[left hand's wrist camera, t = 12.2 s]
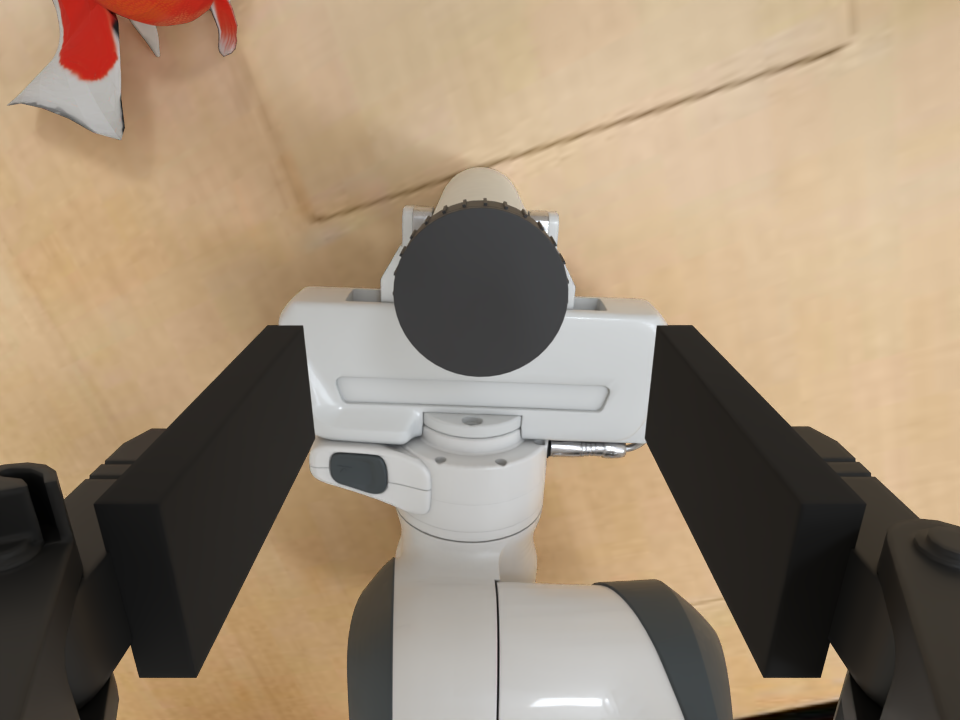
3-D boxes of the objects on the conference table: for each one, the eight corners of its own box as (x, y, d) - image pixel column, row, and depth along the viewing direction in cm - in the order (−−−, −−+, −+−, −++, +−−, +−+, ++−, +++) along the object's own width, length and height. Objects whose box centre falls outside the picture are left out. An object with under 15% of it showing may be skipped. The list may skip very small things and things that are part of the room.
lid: (533, 171, 21) (537, 176, 19) (585, 329, 23) (593, 346, 21) (370, 234, 21) (361, 243, 20) (434, 381, 23) (431, 401, 22)
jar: (504, 154, 37) (527, 194, 20) (531, 232, 38) (573, 334, 21) (427, 184, 37) (382, 250, 20) (457, 260, 39) (439, 380, 22)
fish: (321, 121, 32) (128, 54, 23) (128, 179, 39) (-73, 145, 30) (299, -102, 31) (94, -259, 22) (108, 0, 38) (-102, -88, 30)
